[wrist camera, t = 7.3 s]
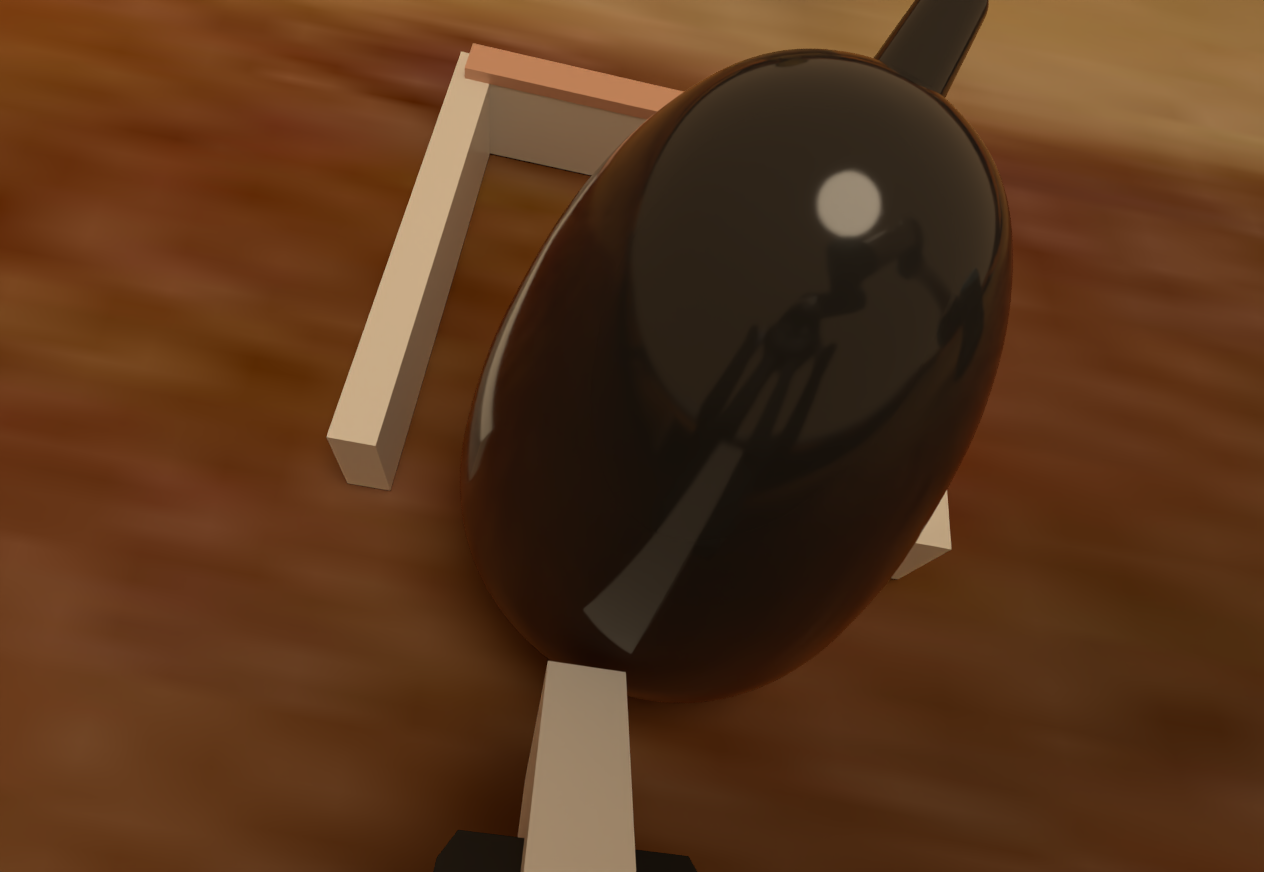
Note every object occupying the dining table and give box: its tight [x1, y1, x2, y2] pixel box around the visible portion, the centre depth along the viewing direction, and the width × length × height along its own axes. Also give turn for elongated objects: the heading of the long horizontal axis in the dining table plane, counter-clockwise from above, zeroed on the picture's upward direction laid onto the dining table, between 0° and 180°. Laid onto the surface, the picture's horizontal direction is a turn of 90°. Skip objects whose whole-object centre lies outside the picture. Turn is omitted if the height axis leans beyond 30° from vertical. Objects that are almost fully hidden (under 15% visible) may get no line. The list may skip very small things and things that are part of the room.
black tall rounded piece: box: [460, 0, 1013, 703], centre depth 15 cm, size 10×10×15 cm
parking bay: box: [327, 43, 951, 579], centre depth 24 cm, size 16×15×3 cm
